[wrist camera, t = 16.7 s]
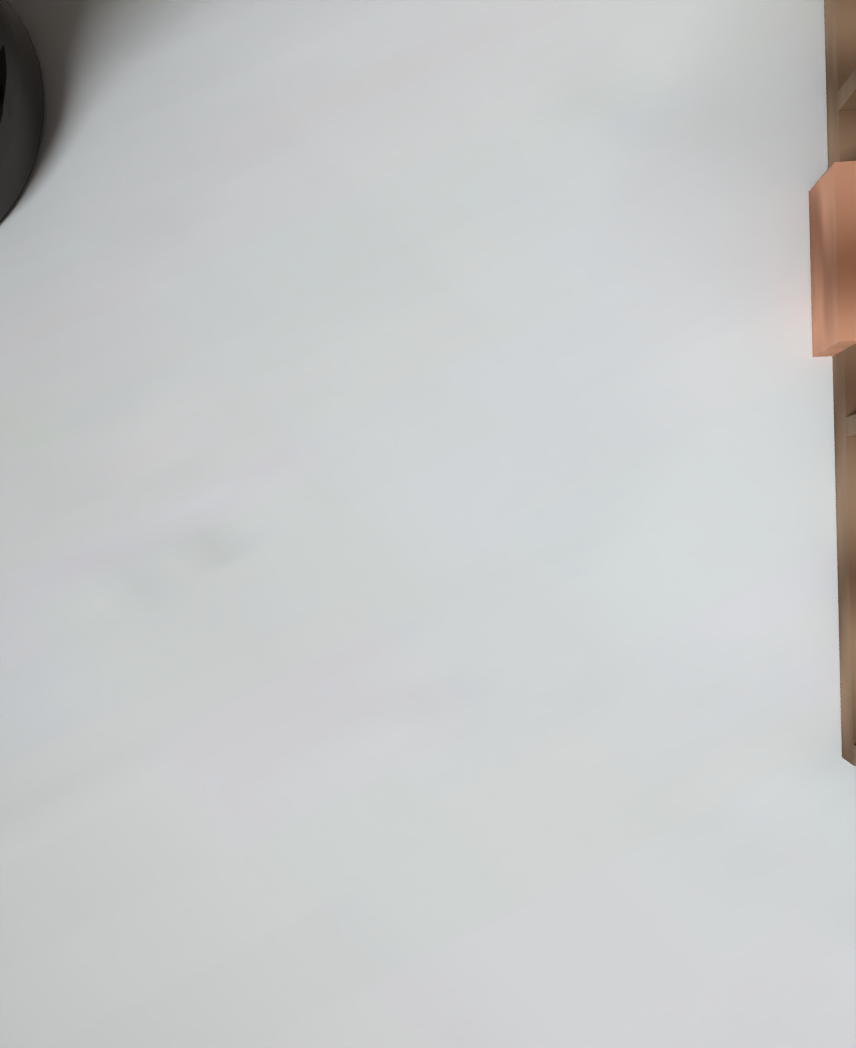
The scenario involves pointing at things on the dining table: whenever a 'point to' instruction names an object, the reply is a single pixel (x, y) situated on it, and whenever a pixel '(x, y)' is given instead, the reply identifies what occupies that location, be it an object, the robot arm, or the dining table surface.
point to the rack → (840, 320)
